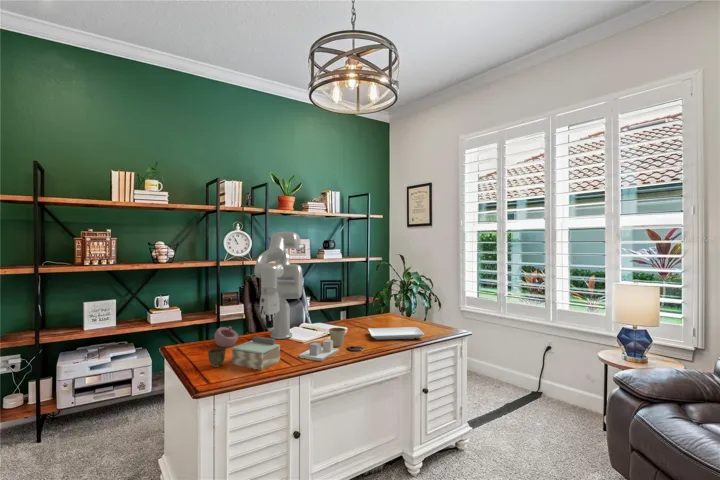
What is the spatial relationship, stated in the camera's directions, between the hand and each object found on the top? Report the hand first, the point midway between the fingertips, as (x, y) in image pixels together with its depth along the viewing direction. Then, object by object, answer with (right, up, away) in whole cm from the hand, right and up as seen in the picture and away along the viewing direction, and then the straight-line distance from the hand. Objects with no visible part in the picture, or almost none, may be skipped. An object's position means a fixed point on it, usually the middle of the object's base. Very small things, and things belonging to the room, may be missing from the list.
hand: (269, 327), depth 181 cm
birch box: (-4, -14, -10) cm, 18 cm away
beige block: (+28, -14, +7) cm, 32 cm away
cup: (-20, -15, -14) cm, 29 cm away
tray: (+66, -15, +40) cm, 78 cm away
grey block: (+22, -13, +2) cm, 26 cm away
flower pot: (+32, -15, +20) cm, 40 cm away
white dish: (+24, -14, +4) cm, 28 cm away
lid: (-4, -7, -10) cm, 13 cm away
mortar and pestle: (-27, -15, +16) cm, 35 cm away
